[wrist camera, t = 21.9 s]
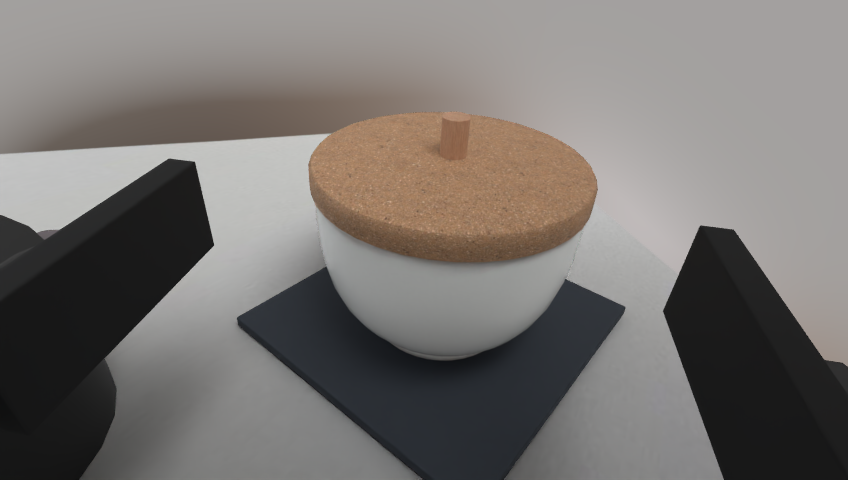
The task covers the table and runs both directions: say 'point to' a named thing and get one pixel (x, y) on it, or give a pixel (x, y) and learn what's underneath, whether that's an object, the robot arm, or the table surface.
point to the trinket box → (448, 226)
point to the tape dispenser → (74, 417)
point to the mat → (436, 377)
